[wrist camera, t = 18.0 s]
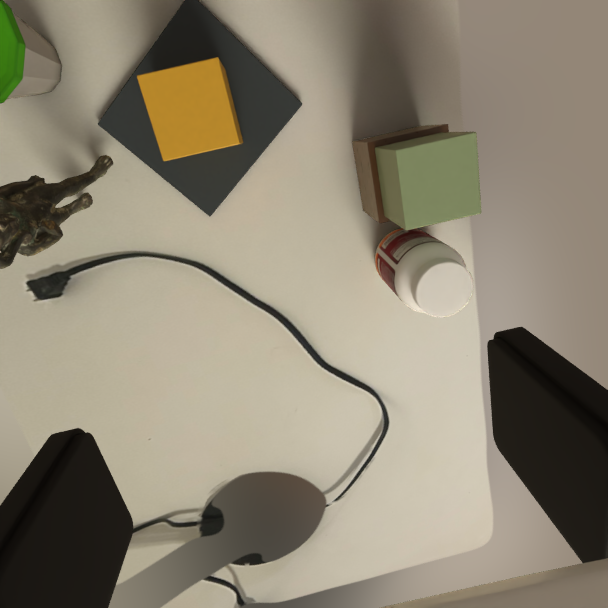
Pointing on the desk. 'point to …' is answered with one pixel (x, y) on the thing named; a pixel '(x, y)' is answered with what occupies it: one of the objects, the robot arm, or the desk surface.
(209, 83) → the top block
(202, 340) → the desk surface
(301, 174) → the desk surface
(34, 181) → the statue
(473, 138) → the middle block
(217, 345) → the desk surface
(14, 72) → the cup
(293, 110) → the felt mat
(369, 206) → the bottom block
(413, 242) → the pill bottle
